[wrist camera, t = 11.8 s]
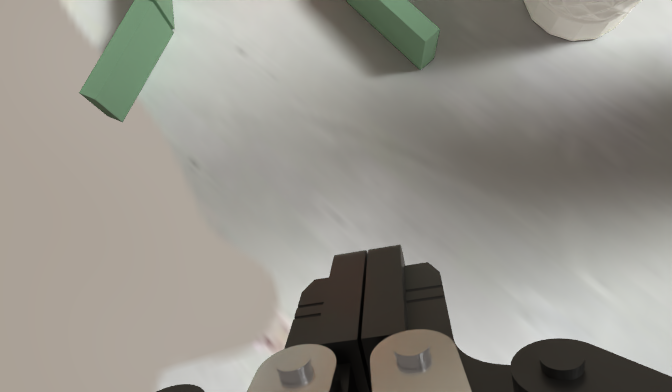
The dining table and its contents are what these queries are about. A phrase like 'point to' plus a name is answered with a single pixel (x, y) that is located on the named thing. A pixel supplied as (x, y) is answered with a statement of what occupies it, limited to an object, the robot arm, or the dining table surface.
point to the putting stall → (155, 32)
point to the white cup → (579, 16)
